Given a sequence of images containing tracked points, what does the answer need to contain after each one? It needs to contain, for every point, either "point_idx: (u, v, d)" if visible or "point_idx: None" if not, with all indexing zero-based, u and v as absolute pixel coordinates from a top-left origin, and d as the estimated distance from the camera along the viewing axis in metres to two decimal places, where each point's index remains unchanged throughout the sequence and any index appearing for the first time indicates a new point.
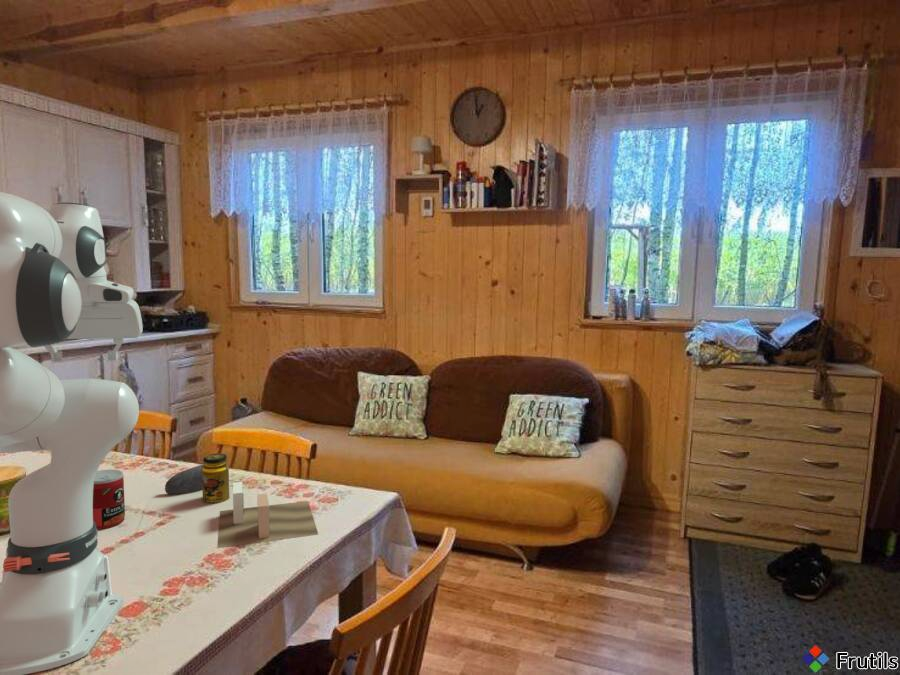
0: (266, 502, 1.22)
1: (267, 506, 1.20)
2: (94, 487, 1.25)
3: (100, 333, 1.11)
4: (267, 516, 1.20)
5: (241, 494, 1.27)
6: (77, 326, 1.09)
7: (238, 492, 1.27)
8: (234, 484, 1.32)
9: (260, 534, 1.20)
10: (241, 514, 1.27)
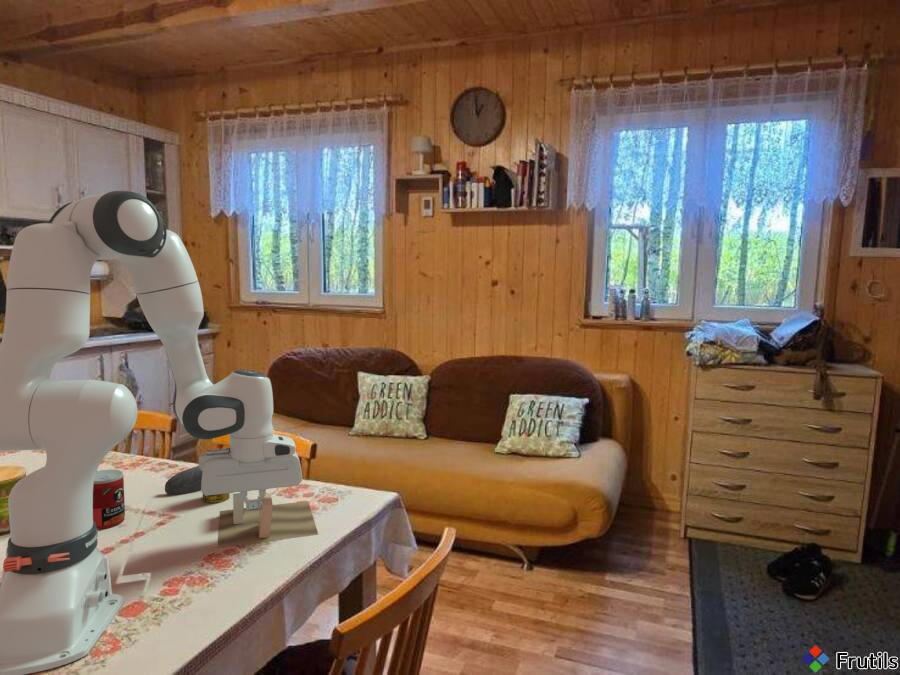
0: (270, 502, 1.22)
1: (271, 506, 1.21)
2: (94, 487, 1.25)
3: (269, 484, 1.22)
4: (270, 516, 1.21)
5: None
6: (250, 479, 1.20)
7: (238, 492, 1.27)
8: None
9: (261, 533, 1.20)
10: (241, 514, 1.27)
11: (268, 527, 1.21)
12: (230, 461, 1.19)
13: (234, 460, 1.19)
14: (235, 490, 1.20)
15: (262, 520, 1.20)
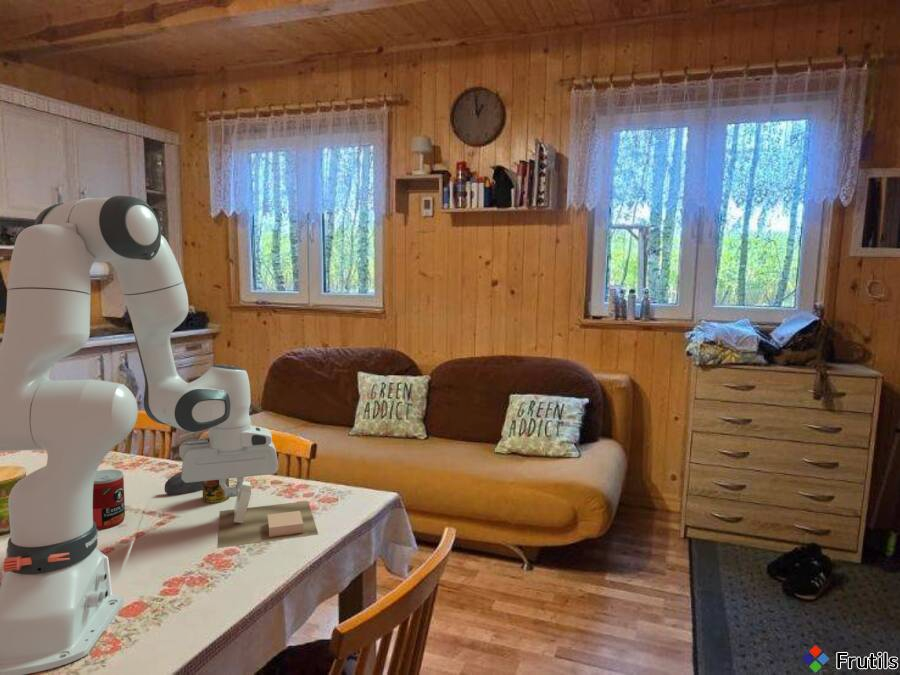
0: None
1: (302, 531, 1.23)
2: (94, 487, 1.25)
3: (246, 472, 1.29)
4: (292, 532, 1.23)
5: (249, 494, 1.27)
6: (228, 468, 1.27)
7: (246, 491, 1.28)
8: None
9: (273, 528, 1.21)
10: (243, 514, 1.27)
11: (280, 533, 1.22)
12: (209, 450, 1.25)
13: (213, 449, 1.26)
14: (214, 478, 1.26)
15: (287, 526, 1.22)
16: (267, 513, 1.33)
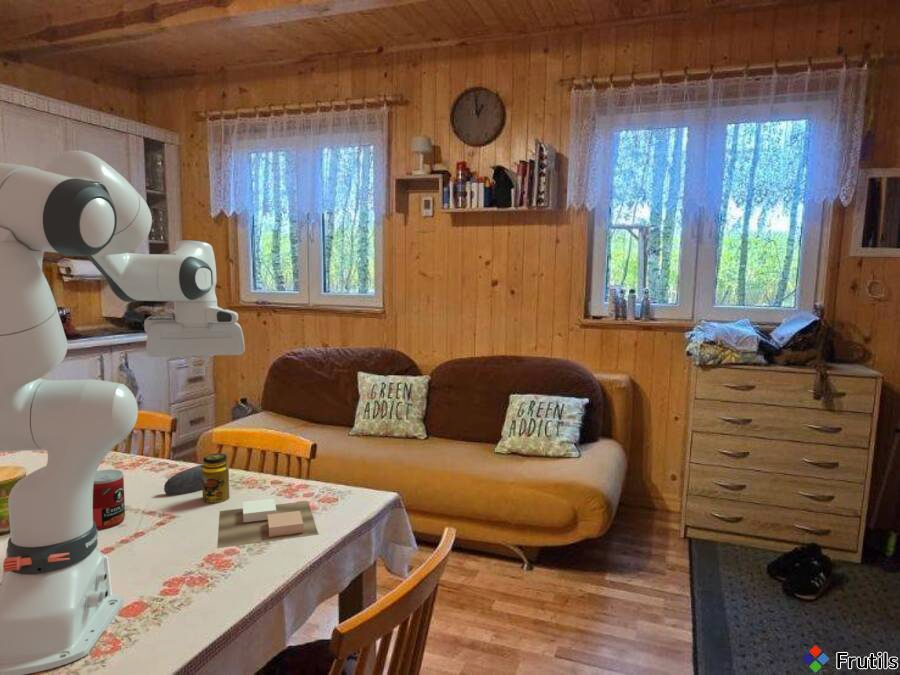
0: None
1: (302, 531, 1.23)
2: (94, 487, 1.25)
3: (212, 350, 1.29)
4: (292, 532, 1.23)
5: None
6: (193, 344, 1.27)
7: None
8: (274, 501, 1.35)
9: (273, 528, 1.21)
10: (253, 519, 1.28)
11: (280, 533, 1.22)
12: (174, 325, 1.26)
13: (178, 324, 1.26)
14: (179, 354, 1.26)
15: (287, 526, 1.22)
16: None
